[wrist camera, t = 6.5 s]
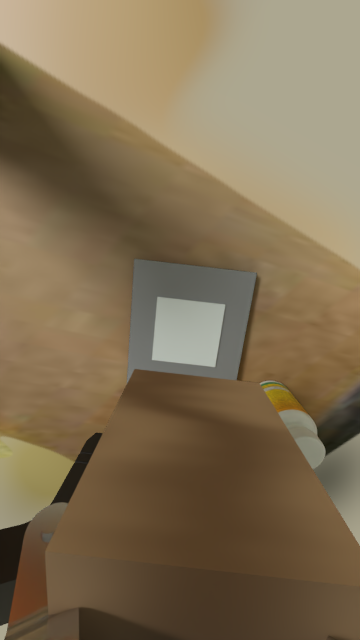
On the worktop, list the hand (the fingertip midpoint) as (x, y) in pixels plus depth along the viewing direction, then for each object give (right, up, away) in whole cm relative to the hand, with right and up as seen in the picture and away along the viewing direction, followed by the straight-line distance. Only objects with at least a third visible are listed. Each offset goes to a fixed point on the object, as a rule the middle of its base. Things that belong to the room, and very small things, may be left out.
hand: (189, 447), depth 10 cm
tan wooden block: (0, 0, +1) cm, 1 cm away
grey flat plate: (+1, +5, +18) cm, 19 cm away
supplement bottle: (+12, -4, +20) cm, 24 cm away
